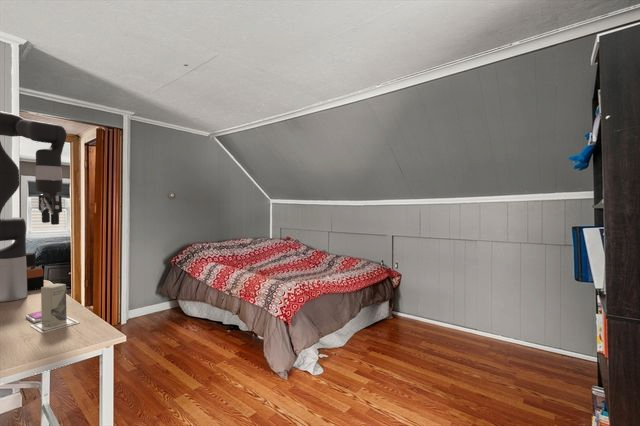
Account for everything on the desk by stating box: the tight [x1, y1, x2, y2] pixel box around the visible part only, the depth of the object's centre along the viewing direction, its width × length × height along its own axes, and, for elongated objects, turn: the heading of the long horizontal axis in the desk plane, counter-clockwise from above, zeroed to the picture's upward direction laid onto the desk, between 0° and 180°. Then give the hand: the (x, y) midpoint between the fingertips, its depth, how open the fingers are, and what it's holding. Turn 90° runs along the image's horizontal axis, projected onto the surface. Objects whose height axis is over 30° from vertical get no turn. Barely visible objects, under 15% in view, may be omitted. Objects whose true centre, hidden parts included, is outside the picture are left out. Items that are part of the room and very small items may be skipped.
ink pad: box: [25, 311, 42, 324], centre depth 114 cm, size 8×8×1 cm
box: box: [40, 283, 68, 327], centre depth 107 cm, size 5×4×13 cm
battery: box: [27, 266, 45, 292], centre depth 147 cm, size 4×7×10 cm, turn 143°
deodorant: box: [26, 252, 37, 269], centre depth 151 cm, size 6×6×15 cm
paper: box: [30, 315, 80, 334], centre depth 107 cm, size 10×10×1 cm
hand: (50, 223), depth 119 cm, fingers open, 8 cm apart
